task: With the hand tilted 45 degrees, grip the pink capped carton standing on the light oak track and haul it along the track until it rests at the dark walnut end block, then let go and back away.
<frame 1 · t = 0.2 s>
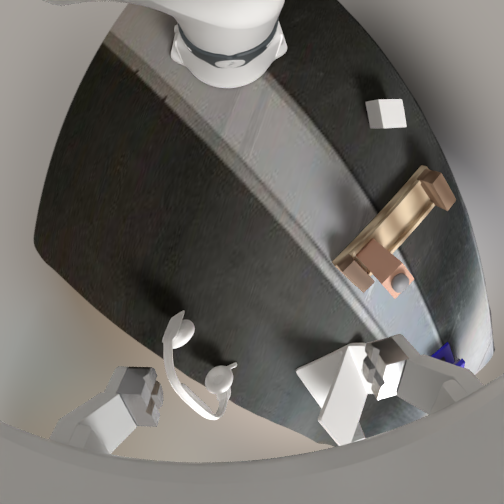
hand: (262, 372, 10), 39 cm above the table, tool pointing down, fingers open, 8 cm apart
tablet stand: (341, 378, 67), on the table
white cube: (378, 114, 42), on the table
track: (389, 223, 50), on the table
small box: (348, 420, 77), on the table
headset: (202, 341, 58), on the table
pink capped carton: (384, 267, 44), point 8 cm above the table, slide at 0.0 cm
stapler: (441, 368, 73), on the table
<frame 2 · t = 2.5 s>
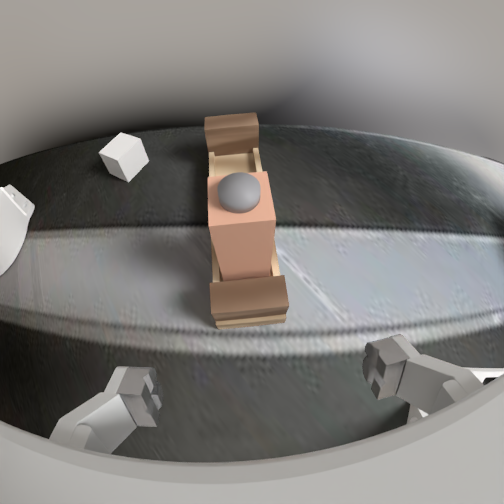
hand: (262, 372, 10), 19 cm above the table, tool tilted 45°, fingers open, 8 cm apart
tablet stand: (472, 434, 21), on the table
white cube: (129, 168, 41), on the table
track: (240, 219, 35), on the table
pink capped carton: (242, 232, 24), point 8 cm above the table, slide at 0.0 cm
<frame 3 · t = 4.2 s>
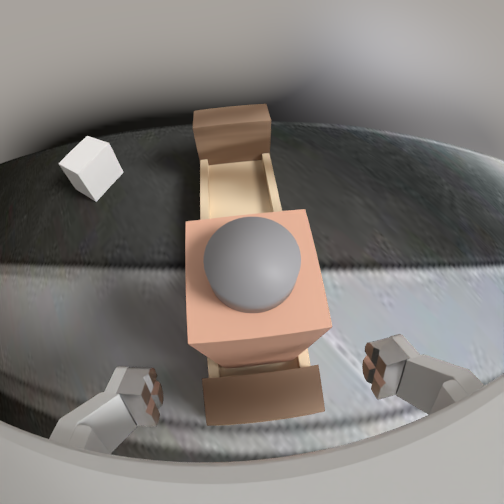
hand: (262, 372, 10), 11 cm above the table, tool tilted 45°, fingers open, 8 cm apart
white cube: (99, 182, 30), on the table
track: (245, 258, 25), on the table
pink capped carton: (254, 310, 14), point 8 cm above the table, slide at 0.0 cm
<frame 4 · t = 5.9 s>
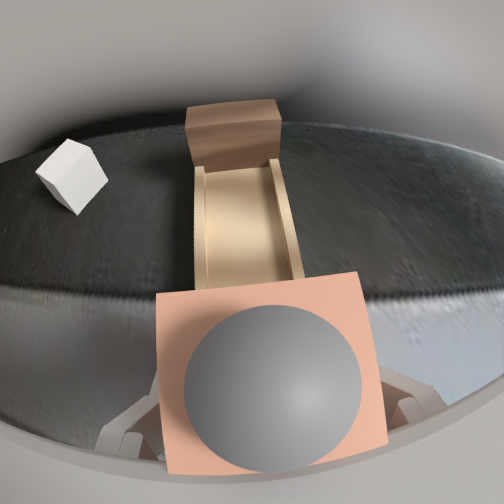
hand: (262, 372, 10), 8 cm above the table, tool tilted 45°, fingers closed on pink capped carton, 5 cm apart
white cube: (82, 191, 26), on the table
track: (250, 289, 20), on the table
pink capped carton: (265, 389, 9), point 8 cm above the table, slide at 0.0 cm, touching gripper
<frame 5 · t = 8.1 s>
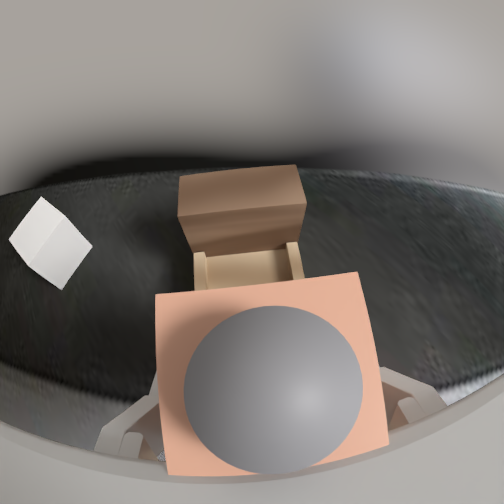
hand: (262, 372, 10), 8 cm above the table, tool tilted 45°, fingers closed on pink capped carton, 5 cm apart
white cube: (64, 257, 22), on the table
track: (263, 401, 16), on the table
pink capped carton: (265, 389, 9), point 8 cm above the table, slide at 8.0 cm, touching gripper
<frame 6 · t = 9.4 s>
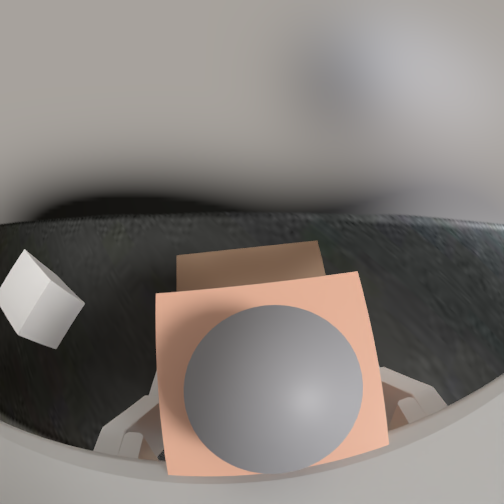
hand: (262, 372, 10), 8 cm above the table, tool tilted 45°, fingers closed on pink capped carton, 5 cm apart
white cube: (56, 311, 19), on the table
track: (272, 472, 14), on the table
pink capped carton: (265, 389, 9), point 8 cm above the table, slide at 13.3 cm, touching gripper
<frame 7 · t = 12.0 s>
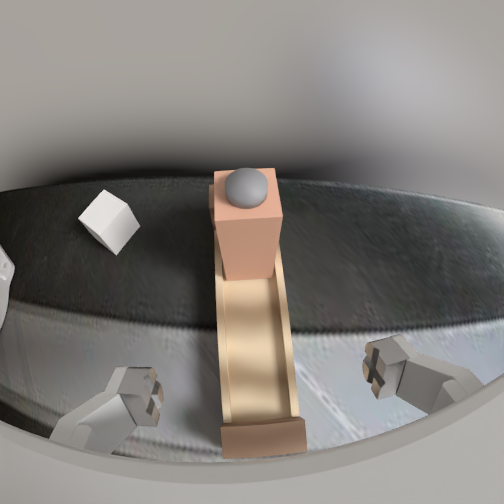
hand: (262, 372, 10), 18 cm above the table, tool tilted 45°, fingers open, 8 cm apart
white cube: (117, 233, 34), on the table
track: (252, 323, 29), on the table
pink capped carton: (247, 229, 24), point 8 cm above the table, slide at 13.5 cm
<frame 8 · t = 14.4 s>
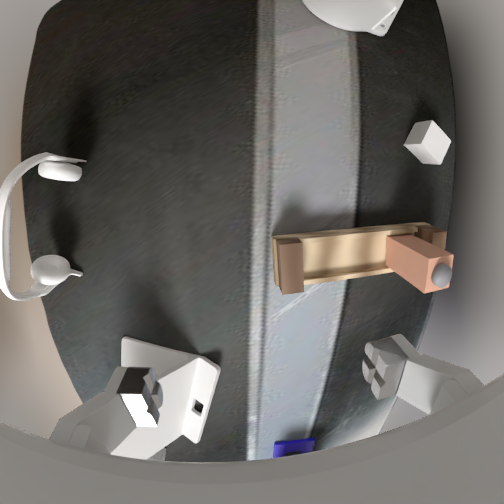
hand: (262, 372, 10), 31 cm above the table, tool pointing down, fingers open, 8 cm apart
tablet stand: (165, 393, 49), on the table
white cube: (418, 143, 38), on the table
track: (357, 249, 42), on the table
small box: (154, 450, 55), on the table
headset: (71, 215, 37), on the table
pink capped carton: (418, 261, 34), point 8 cm above the table, slide at 13.5 cm
stapler: (288, 463, 60), on the table
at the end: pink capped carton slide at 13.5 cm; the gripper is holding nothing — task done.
